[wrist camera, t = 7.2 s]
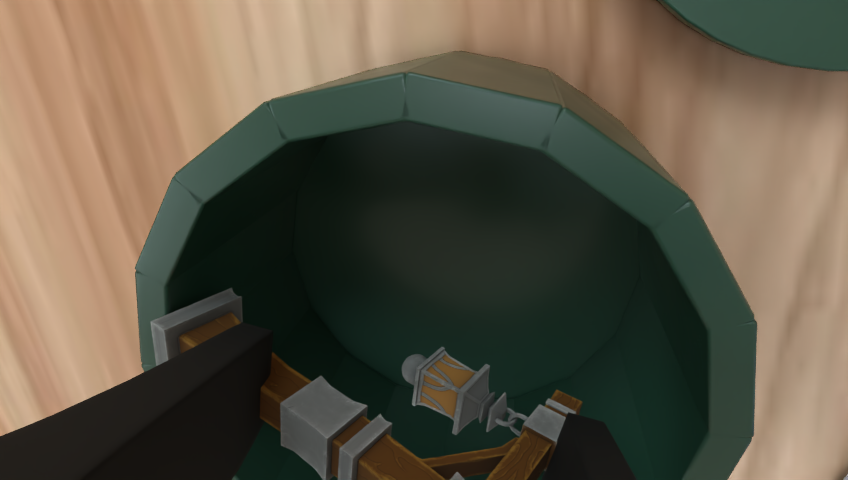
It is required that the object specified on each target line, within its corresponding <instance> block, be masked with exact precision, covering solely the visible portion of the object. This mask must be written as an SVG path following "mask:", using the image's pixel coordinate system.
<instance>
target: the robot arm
mask: <svg viewBox="0 0 848 480" xmlns="http://www.w3.org/2000/svg"><path fill="white" fill-rule="evenodd" d="M272 345H273V331H272V330H269V329H265V328H261V327H258V326H254V325H251V324H247V323H243V322H242V323H240V324H237V325H235V326H233V327H231V328H229V329H227V330H225V331H223V332H222V333H220V334H218V335H216V336H214V337H212V338H210V339H208V340H206V341H204V342H202V343H200V344H199V345H197V346H195V347H193V348H191V349H189V350H187V351H185V352H183V353H181V354H179V355H178V356H176V357H174V358H172V359H170V360H168V361H166V362H164V363H162V364H160V365H158V366H156V367H154V368H152V369H150V370H148V371H146V372H144V373H142V374H140V375H138V376H136V377H134V378H132V379H130V380H128V381H126V382H124V383H122V384H119V385H117V386H115V387H113V388H111V389H109V390H106V391H104V392H102V393H100V394H98V395H95V396H93V397H91V398H89V399H87V400H85V401H82V402H80V403H78V404H76V405H74V406H72V407H69V408H67V409H65V410H63V411H61V412H58V413H56V414H54V415H52V416H49V417H47V418H45V419H42V420H40V421H37V422H35V423H33V424H30V425H28V426H25V427H23V428H20V429H18V430H15V431H13V432H10V433H8V434H5V435H3V436H0V480H232V479H233V477H234V476H235V474H236V473H237V471H238V470H239V468H240V467H241V465H242V463H243V461H244V459H245V458H246V456H247V454H248V452H249V450H250V448H251V447H252V445H253V443H254V441H255V439H256V437H257V435H258V433H259V431H260V429H261V428H262V426H263V424H264V422H265V421H264V420H262V419H261V418H260V395H261V387H262V386H263V384H264V383H265V381H266V380H267V379H268V377H269V376H270V374H271V359H272ZM541 480H637V479H636V477H635V475H634V474H633V472H632V470H631V468H630V467H629V465H628V463H627V461H626V460H625V458H624V456H623V454H622V452H621V451H620V449H619V447H618V445H617V444H616V442H615V440H614V438H613V437H612V435H611V433H610V431H609V430H608V428H607V426H606V424H605V423H604V422H602V421H599V420H595V419H592V418H588V417H584V416H581V415H577V414H573V413H570V412H568V414H567V416H566V419H565V421H564V424H563V426H562V429H561V431H560V434H559V436H558V439H557V445H556V447H555V450H554V452H553V455H552V457H551V459H550V462H549V464H548V467H547V469H546V471H544V474H543V477H542V479H541ZM843 480H848V474H847V475H846V476H845V478H844V479H843Z"/></svg>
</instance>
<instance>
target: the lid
mask: <svg viewBox="0 0 848 480" xmlns="http://www.w3.org/2000/svg"><path fill="white" fill-rule="evenodd" d="M657 1H659V2H660V3H661V4H662V5H663V6H664V7H665V8H666V9H668V10H669V11H670V12H671V13H672V14H673V15H674V16H675V17H677V18H678V19H679V20H680V21H681V22H683V23H685V24H686V25H688V26H689V27H691V28H692V29H694V30H696V31H697V32H699V33H700V34H702V35H703V36H705V37H707V38H708V39H710V40H712V41H714V42H716V43H718V44H721V45H723V46H725V47H728V48H730V49H732V50H734V51H737V52H739V53H741V54H743V55H747V56H750V57H754V58H758V59H761V60H765V61H769V62H772V63H776V64H780V65H785V66H792V67H800V68H807V69H815V70H822V71H848V0H657Z"/></svg>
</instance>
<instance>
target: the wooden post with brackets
mask: <svg viewBox="0 0 848 480" xmlns="http://www.w3.org/2000/svg"><path fill="white" fill-rule="evenodd" d="M242 322H243V318H242V297H241V296H237V295H236V294H234V293H233V290H232V288H230V289H228V290H225V291H223V292H220V293H218V294H215V295H213V296H211V297H208V298H206V299H203V300H201V301H199V302H196V303H194V304H191V305H189V306H187V307H184V308H182V309H179V310H177V311H175V312H172V313H170V314H167V315H165V316H163V317H160V318H158V319H155V320H153V321H151V330H152V337H153V345H154V352H155V359H156V366H158V365H160V364H162V363H164V362H166V361H168V360H170V359H172V358H174V357H176V356H178V355H179V354H181V353H183V352H185V351H187V350H189V349H191V348H193V347H195V346H197V345H199V344H200V343H202V342H204V341H206V340H208V339H210V338H212V337H214V336H216V335H218V334H220V333H222V332H223V331H225V330H227V329H229V328H231V327H233V326H235V325H237V324H240V323H242ZM489 369H490V365H488V364H485V365H484V366H483V367H482V368H481V369H480V370H479V371H474V370H472V369H470V368H469V367H467V366H465V365H464V364H462V363H460V362H459V361H457V360H455V359H454V358H452V357H450V356H449V355H448V354H447V353H446V351H445V348H444V347H441V348H440V349H438V350H437V351H436V352H435V353H434V354H432V355H431V356H430V357H429V358H428V359H427V358H426V357H424V356H423V355H420V354H414V355H411V356H409V357H407V358H406V360H405V361H404V363H403V365H402V375H403V377H404V379H405V380H406V381H407V382H409V383H410V384H412V385H414V392H413V400H412V405H413V406H416V405H423V406H426V407H429V408H431V409H433V410H435V411H437V412H439V413H441V414H443V415H446V416H448V417H450V418H451V419H452V420H453V421H454V425H453V431H452V433H453V434H455V435H457V434H458V433H459V432H460V431H461V430H462V429H463V427H465V426H466V425H467V424H469V423H470V422H471V421H472V420H474V419H476V418H477V417H478V418H479V422H480V423H481V422H482V421H483V420H484V419H485V418H486V417H487V416H488V421H487V428H486V432H489V431H490V430H491V429H493V428H494V427H496V426H497V425H498V424H499V425H502V426H505V427H507V426H509V427H510V429H511V431H513V432H514V433H515V434H516V435H518V436H520V437H519V438H517V437H515V438H514V439H512V440H511V441H509V442H508V443H506V444H505V445H503V446H502V447H496V448H490V449H484V450H478V451H471V452H465V453H459V454H453V455H446V456H440V457H434V458H428V459H420V458H418V457H416V456H415V455H414V454H413V453H411V452H410V451H409V450H407V449H406V448H405V447H404V446H402V445H401V444H400V443H398V442H397V441H396V440H395V439H393V438H392V437H391V430H392V423H391V422H388V421H386V420H385V419H384V418H383V417H382V415H381V414H379V415H378V416H377V417H376V418H375V419H374V420H372V421H370V420H368V419H367V407H368V406H367V405H364V404H361V403H358V402H355V401H353V400H351V399H350V398H348V397H347V396H345V395H344V394H342V393H341V392H339V391H338V390H336V389H335V388H333V387H332V386H330V385H329V384H328V382H327V381H326V380H325V379H324V378H323V377H322V376H320V377H318V378H317V379H315V380H314V381H311V380H309V379H307V378H306V377H304V376H303V375H301V374H300V373H298V372H297V371H295V370H294V369H292V368H291V367H289V366H288V365H287V364H286V363H285V362H284V361H282V360H281V359H280V358H279V357H278V356H277V355H275V354H274V353H273V352H272V359H271V374H270V376H269V377H268V379H267V380H266V381H265V383H264V384H263V386H262V387H261V395H260V418H261V419H262V420H264V421H265V422H267V423H268V424H270V425H271V426H273V427H274V428H275V429H277V430H278V431H280V432H281V446H283V447H286V448H288V449H290V450H292V451H294V452H295V453H296V454H298V455H299V456H300V457H301V458H302V459H304V460H305V461H306V462H307V463H308V464H310V465H311V466H312V467H313V468H314V469H315V470H316V471H317V472H318V474H319V475H320V476H321V478H322V479H323V480H330V479H331V478H332V477H333V476H336V477H337V478H338V480H465V479H464V478H463V477H469V476H475V475H480V474H486V473H491V474H490V475H489V476H488V477H487V479H486V480H537V479H538V478H539V476H540V475H541V473H542V472H543V470H544V471H546V469H547V467H548V464H549V462H550V459H551V457H552V455H553V452H554V450H555V447H556V445H557V439H558V436H559V434H560V431H561V429H562V426H563V424H564V421H565V419H566V416H567V414H568V412H570V413H573V414H577V415H579V412H580V409H581V406H582V401H580V400H578V399H576V398H574V397H571V396H569V395H567V394H565V393H563V392H561V391H559V390H557V389H556V391H555V392H554V394H553V396H552V397H551V399H549V398H548V399H547V401H546V403H545V406H542V405H540V404H539V405H538V407H537V408H536V409H535V410H534V411H533V413H532V414H531V415H530V416H529V417H527V416H525V415H523V414H520V413H515V412H514V411H513V410H511V409H510V408H507V402H506V393H505V392H504V393H503V394H502V395H501V396H500V397H499V398H498V400H497V401H496V402H494V397H495V392H493V393H491V394H489V389H488V375H489ZM506 412H508V413H509V414H510V416H509V417H508V422H505V421H503V419H504V418H505V416H506ZM517 417H518V418H521V419H523V420H525V422H524V424H523V426H522V430H521V432H520V431H519V430H517V429H516V428H515V427H514V424H515V423H516V422H517V419H518V418H517Z"/></svg>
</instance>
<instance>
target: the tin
mask: <svg viewBox="0 0 848 480" xmlns="http://www.w3.org/2000/svg"><path fill="white" fill-rule="evenodd" d="M135 269H136V272H135V278H136V293H137V308H138V323H139V338H140V353H141V362H142V368H143V370H144V372H146V371H148V370H150V369H152V368H154V367H156V359H155V352H154V345H153V337H152V330H151V321H153V320H155V319H158V318H160V317H163V316H165V315H167V314H170V313H172V312H175V311H177V310H179V309H182V308H184V307H187V306H189V305H191V304H194V303H196V302H199V301H201V300H203V299H206V298H208V297H211V296H213V295H215V294H218V293H220V292H223V291H225V290H228V289H230V288H232V290H233V293H234V294H236V295H237V296H241V297H242V318H243V323H247V324H251V325H254V326H258V327H261V328H265V329H269V330H272V331H273V345H272V352H273V353H274V354H275V355H277V356H278V357H279V358H280V359H281V360H282V361H284V362H285V363H286V364H287V365H288V366H289V367H291V368H292V369H294V370H295V371H297V372H298V373H300V374H301V375H303V376H304V377H306V378H307V379H309V380H311V381H314V380H315V379H317V378H318V377H320V376H322V377H323V378H324V379H325V380H326V381H327V382H328V384H329V385H330V386H332V387H333V388H335V389H336V390H338V391H339V392H341V393H342V394H344V395H345V396H347V397H348V398H350V399H351V400H353V401H355V402H358V403H361V404H364V405H367V406H368V407H367V419H368V420H370V421H372V420H374V419H375V418H376V417H377V416H378V415H379V414H381V415H382V417H383V418H384V419H385V420H386V421H388V422H391V423H392V430H391V437H392V438H393V439H395V440H396V441H397V442H398V443H400V444H401V445H402V446H404V447H405V448H406V449H407V450H409V451H410V452H411V453H413V454H414V455H415V456H416V457H418V458H420V459H428V458H434V457H440V456H446V455H453V454H459V453H465V452H471V451H478V450H484V449H490V448H496V447H502V446H503V445H505V444H506V443H508V442H509V441H511V440H512V439H514V438H515V437H517V438H519V437H520V436H518V435H516V434H515V433H514V432H513V431H511V429H510V427H509V426H507V427H505V426H502V425H499V424H498V425H497V426H496V427H494V428H493V429H491V430H490V431H489V432H486V428H487V421H488V416H487V417H486V418H485V419H484V420H483V421H482V422H481V423H480V422H479V418H478V417H477V418H476V419H474V420H472V421H471V422H470V423H469V424H467V425H466V426H465V427H463V429H462V430H461V431H460V432H459V433H458V434H457V435H455V434H453V433H452V431H453V425H454V421H453V420H452V419H451V418H450V417H448V416H446V415H443V414H441V413H439V412H437V411H435V410H433V409H431V408H429V407H426V406H423V405H416V406H413V405H412V400H413V392H414V385H412V384H410V383H409V382H407V381H406V380H405V379H404V377H403V375H402V365H403V363H404V361H405V360H406V358H407V357H409V356H411V355H414V354H420V355H423V356H424V357H426V358H427V359H428V358H429V357H430V356H431V355H432V354H434V353H435V352H436V351H437V350H438V349H440V348H441V347H444V348H445V351H446V353H447V354H448V355H449V356H450V357H452V358H454V359H455V360H457V361H459V362H460V363H462V364H464V365H465V366H467V367H469V368H470V369H472V370H474V371H479V370H480V369H481V368H482V367H483V366H484V365H485V364H488V365H490V369H489V375H488V389H489V394H491V393H493V392H495V397H494V402H496V401H497V400H498V398H499V397H500V396H501V395H502V394H503V393H504V392H505V393H506V402H507V408H510V409H511V410H513V411H514V412H515V413H520V414H523V415H525V416H527V417H529V416H530V415H531V414H532V413H533V411H534V410H535V409H536V408H537V407H538V405H539V404H540V405H542V406H545V403H546V401H547V399H548V398H549V399H551V397H552V396H553V394H554V392H555V391H556V389H557V390H559V391H561V392H563V393H565V394H567V395H569V396H571V397H574V398H576V399H578V400H580V401H582V406H581V409H580V412H579V415H581V416H584V417H588V418H592V419H595V420H599V421H602V422H604V423H605V424H606V426H607V428H608V430H609V431H610V433H611V435H612V437H613V438H614V440H615V442H616V444H617V445H618V447H619V449H620V451H621V452H622V454H623V456H624V458H625V460H626V461H627V463H628V465H629V467H630V468H631V470H632V472H633V474H634V475H635V477H636V479H637V480H727V479H728V478H729V476H730V474H731V473H732V471H733V470H734V468H735V466H736V465H737V463H738V462H739V460H740V458H741V457H742V455H743V453H744V452H745V450H746V449H747V447H748V445H749V444H750V442H751V440H752V437H753V436H754V409H755V376H756V342H757V322H756V321H755V319H754V314H753V312H752V310H751V308H750V306H749V304H748V302H747V300H746V298H745V297H744V295H743V293H742V291H741V289H740V287H739V285H738V283H737V282H736V280H735V278H734V276H733V274H732V272H731V270H730V268H729V267H728V265H727V263H726V261H725V259H724V257H723V255H722V253H721V252H720V250H719V248H718V246H717V244H716V242H715V240H714V238H713V237H712V235H711V233H710V231H709V229H708V227H707V225H706V223H705V221H704V220H703V218H702V216H701V214H700V212H699V210H698V208H697V206H696V205H695V203H694V201H693V200H692V199H691V198H690V197H689V196H688V194H687V193H686V192H685V191H684V190H683V189H682V188H681V187H680V186H679V184H678V183H677V182H676V181H675V180H674V179H673V178H672V177H671V176H670V175H669V174H668V172H667V171H666V170H665V169H664V168H663V167H662V166H661V165H660V164H659V163H658V162H657V160H656V159H655V158H654V157H653V156H652V155H651V154H650V153H649V152H648V151H647V150H646V148H645V147H644V146H643V145H642V144H641V143H640V142H639V141H638V140H637V139H636V138H635V136H634V135H633V134H632V133H631V132H630V131H629V130H628V129H627V128H626V127H625V126H624V124H623V123H622V122H621V121H619V120H618V119H617V118H615V117H614V116H612V115H611V114H610V113H608V112H607V111H606V110H604V109H603V108H601V107H600V106H599V105H597V104H596V103H595V102H593V101H592V100H591V99H590V98H589V97H587V96H586V95H585V94H584V93H582V92H580V91H579V90H577V89H575V88H574V87H573V86H571V85H570V84H568V83H567V82H566V81H564V80H563V79H562V78H560V77H559V76H557V75H556V74H555V73H553V72H552V71H549V70H548V69H545V68H540V67H535V66H530V65H526V64H521V63H518V62H514V61H511V60H507V59H503V58H496V57H489V56H483V55H478V54H473V53H469V52H464V51H459V52H457V51H454V52H449V53H444V54H440V55H435V56H430V57H426V58H420V59H416V60H412V61H407V62H403V63H398V64H393V65H389V66H384V67H379V68H375V69H372V70H368V71H365V72H362V73H358V74H355V75H351V76H348V77H345V78H341V79H338V80H334V81H331V82H328V83H324V84H321V85H318V86H314V87H311V88H307V89H304V90H301V91H297V92H294V93H291V94H287V95H284V96H280V97H277V98H274V99H271V100H270V101H266V102H264V103H262V104H261V105H260V106H259V107H257V108H256V109H255V110H254V111H252V112H251V113H250V114H249V115H248V116H246V117H245V118H244V119H243V120H241V121H240V122H239V123H238V124H236V125H235V126H234V127H233V128H231V129H230V130H229V131H228V132H226V133H225V134H224V135H223V136H221V137H220V138H219V139H218V140H216V141H215V142H214V143H213V144H211V145H210V146H209V147H208V148H206V149H205V150H204V151H203V152H201V153H200V154H199V155H198V156H196V157H195V158H194V159H193V160H191V161H190V162H189V163H188V164H186V165H185V166H184V167H183V168H181V169H180V170H179V171H178V172H176V174H175V176H174V177H173V178H172V180H171V183H170V185H169V187H168V190H167V192H166V195H165V197H164V199H163V202H162V204H161V207H160V209H159V211H158V214H157V216H156V219H155V221H154V223H153V226H152V228H151V231H150V233H149V235H148V238H147V240H146V243H145V245H144V247H143V250H142V252H141V255H140V257H139V259H138V262H137V264H136V267H135ZM509 416H510V414H509V413H508V412H506V416H505V418H504V419H503V421H505V422H508V417H509ZM517 418H518V417H517ZM524 422H525V420H523V419H521V418H518V419H517V422H516V423H515V424H514V427H515V428H516V429H517V430H519V431H520V432H521V430H522V426H523V424H524ZM490 474H491V473H486V474H480V475H475V476H469V477H463V478H464V479H465V480H486V479H487V477H488V476H489V475H490ZM543 474H544V470H543V472H542V473H541V475H540V476H539V478H538V479H537V480H541V479H542V477H543ZM232 480H323V479H322V478H321V476H320V475H319V474H318V472H317V471H316V470H315V469H314V468H313V467H312V466H311V465H310V464H308V463H307V462H306V461H305V460H304V459H302V458H301V457H300V456H299V455H298V454H296V453H295V452H294V451H292V450H290V449H288V448H286V447H283V446H281V432H280V431H278V430H277V429H275V428H274V427H273V426H271V425H270V424H268V423H267V422H264V424H263V426H262V428H261V429H260V431H259V433H258V435H257V437H256V439H255V441H254V443H253V445H252V447H251V448H250V450H249V452H248V454H247V456H246V458H245V459H244V461H243V463H242V465H241V467H240V468H239V470H238V471H237V473H236V474H235V476H234V477H233V479H232ZM330 480H338V478H337V477H336V476H333V477H332V478H331V479H330Z"/></svg>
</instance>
